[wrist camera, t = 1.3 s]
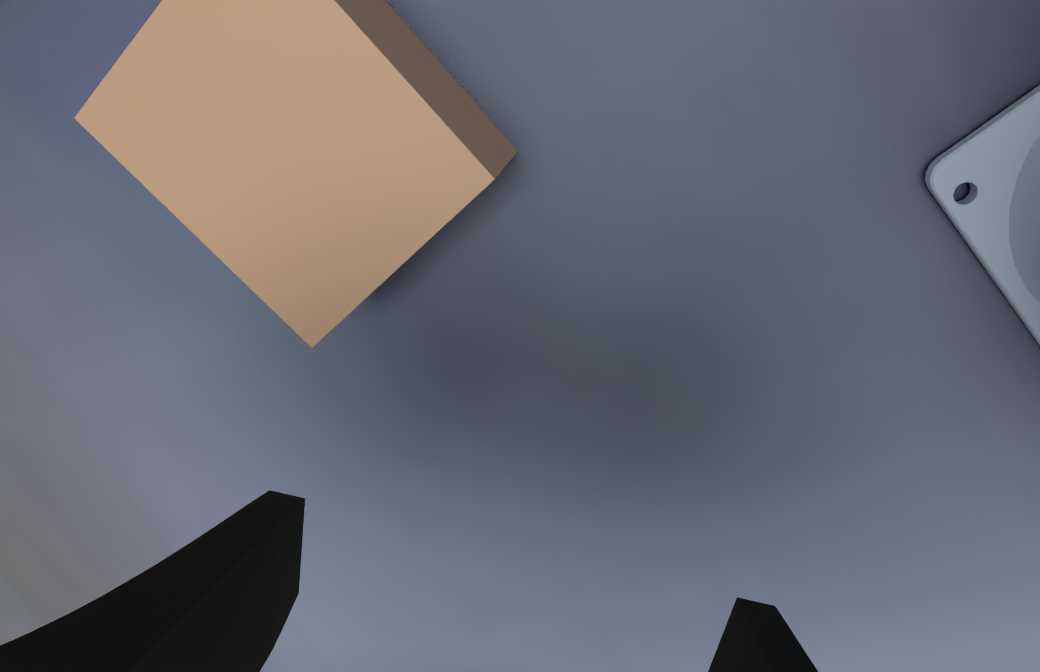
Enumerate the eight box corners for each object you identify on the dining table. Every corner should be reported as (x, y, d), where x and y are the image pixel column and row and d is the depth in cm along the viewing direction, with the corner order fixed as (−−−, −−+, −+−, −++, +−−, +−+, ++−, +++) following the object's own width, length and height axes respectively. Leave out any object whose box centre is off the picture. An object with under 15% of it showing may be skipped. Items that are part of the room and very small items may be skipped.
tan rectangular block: (519, 150, 19) (494, 178, 15) (365, 292, 21) (311, 347, 17) (320, -76, 17) (240, -104, 14) (177, 101, 19) (74, 118, 16)
